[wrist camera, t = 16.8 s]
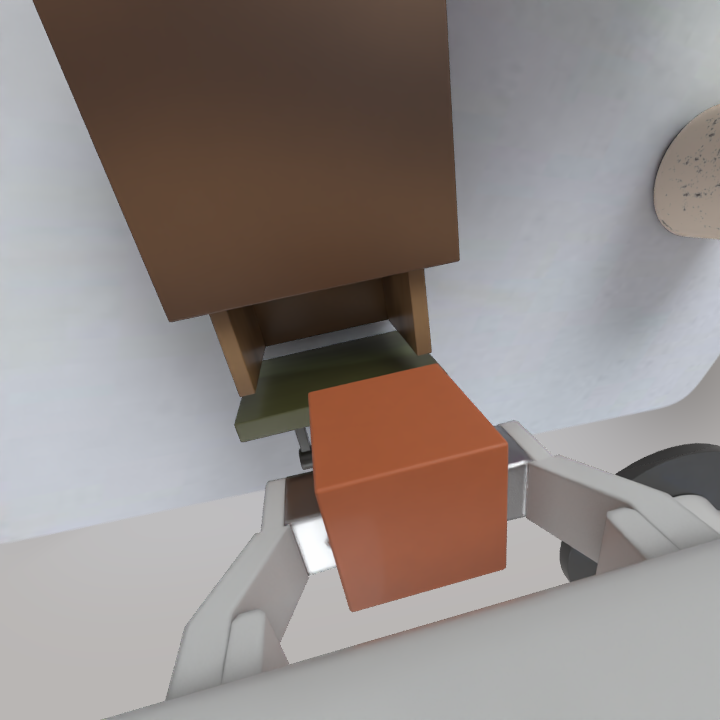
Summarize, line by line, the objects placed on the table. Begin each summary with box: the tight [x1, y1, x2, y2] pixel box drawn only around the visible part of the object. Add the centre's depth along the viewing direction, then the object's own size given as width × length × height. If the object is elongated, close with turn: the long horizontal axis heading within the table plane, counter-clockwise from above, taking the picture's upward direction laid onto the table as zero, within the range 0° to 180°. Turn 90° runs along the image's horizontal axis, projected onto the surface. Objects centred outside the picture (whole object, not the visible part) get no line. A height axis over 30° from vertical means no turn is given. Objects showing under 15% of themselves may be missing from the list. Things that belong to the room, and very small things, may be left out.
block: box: [308, 363, 508, 612], centre depth 10 cm, size 4×4×4 cm
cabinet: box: [33, 0, 460, 322], centre depth 16 cm, size 15×13×10 cm
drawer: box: [209, 269, 448, 470], centre depth 20 cm, size 18×11×8 cm, turn 10°
